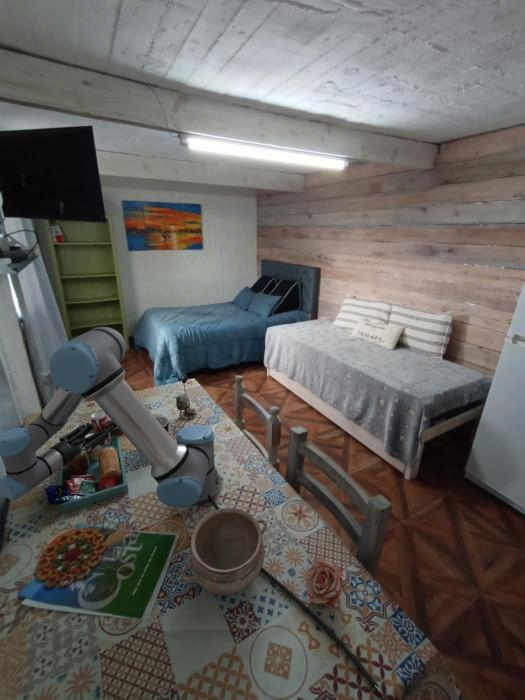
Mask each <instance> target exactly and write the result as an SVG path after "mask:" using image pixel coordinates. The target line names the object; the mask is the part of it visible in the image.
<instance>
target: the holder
mask: <svg viewBox="0 0 525 700" xmlns="http://www.w3.org/2000/svg"><path fill="white" fill-rule="evenodd" d="M107 421H108V424H109V423H111V422H112V420H111V419H110V420H107ZM90 432H91V434H92V433H94V432H93V431H92V429H91V431H90ZM122 434H123V433H122V432H121V430H120V429H119V428H118V427H115V428H114V429H113V430H112V431H111V432H110V437H111V438H113V437H115V436H119V435H122Z"/></svg>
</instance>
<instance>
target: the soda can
mask: <svg viewBox="0 0 525 700" xmlns="http://www.w3.org/2000/svg"><path fill="white" fill-rule="evenodd" d="M107 416H108V415H107V414H106V413H105V412H104V411H97V412H95V413H93V414H92V415H91V418H90V424H91V423H92V427H93V432H94V434H95V433H97V432H99V431H101V430H103V427H105V426H106V425H108V421H109V420H108V417H107ZM111 441H112V437H110V432H109V438H108V439H107V440H105V441H104V442H102V443H101V444H100V445H98V446H97V447H103V446H106V445H108V444H110V442H111Z"/></svg>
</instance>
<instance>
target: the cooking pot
mask: <svg viewBox="0 0 525 700" xmlns="http://www.w3.org/2000/svg"><path fill="white" fill-rule="evenodd" d="M260 524H263V527H262V528H261V526H260ZM267 528H268V523H267V521H266V520H265V519H262V518H260V519H256V518H255V517H254V516H253V515H252V514H251V513H249V512H247V511H246V510H244V509H241V508H237V507H222V508H220V509H218V510H216V509H215V510H213V511H211V512H209V513H207V514H206V515H204V516H203V517H202V518H201V519H200V520H199V521H198V523H197V524H196V526H195V527H194V529H193V532H192V534H191V540H190V545H191V546H190V550H189V563H188V564H187V565H186V566H185V567H183V569H182V570H181V572H180V575H179V576H180V580H181V581H182V582H185V583H196V582H197V584H199V586H200V587H201V588H203V589H204V590H205V591H206V592H209V593H210V594H214V595H218V596H231V595H236V594H238V593H240V592H242V591H244V590H245V589H247V588H248V587H249V586H250V585H252V584H253V583H254V581H256V579H257V577H258V576H259V574H260V572H261V571H260V570H261V568H262V567H263V564H264V560H265V544H264V541H263V535H264V534H265V532H266V530H267ZM188 571H191V574H192V576H190V577H189V576H188V577H187V576H185V573H186V572H188Z"/></svg>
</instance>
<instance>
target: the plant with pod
mask: <svg viewBox="0 0 525 700" xmlns="http://www.w3.org/2000/svg"><path fill="white" fill-rule="evenodd" d="M187 382H188V377H187V375H186V374H184V375H183V376H182V377H181V383H182V384H183V388H184V392H183V393H182V394H181V393H180V394H179V395H177V396H175V406H176V409H177V410H178V411H179V418H178V419H179V420H180V419H182V420H186V421H189V420H192V419H193V418H194V417H195V416H196V415H197V413H198V410H197V409H196V408H193V407H191V401H190V398H189V396H188V394H187V391H186V385H185V384H186V383H187Z"/></svg>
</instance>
